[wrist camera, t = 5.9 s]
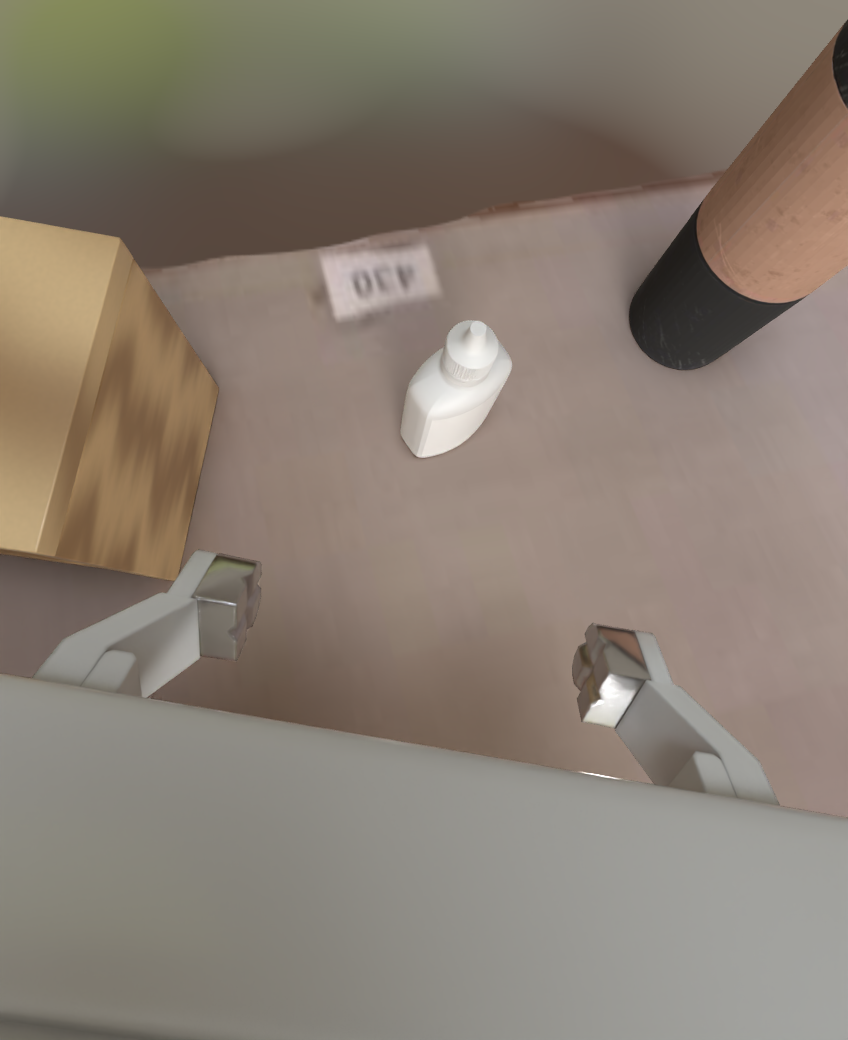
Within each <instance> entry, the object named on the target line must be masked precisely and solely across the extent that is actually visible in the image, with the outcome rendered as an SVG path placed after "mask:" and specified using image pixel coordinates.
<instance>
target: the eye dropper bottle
mask: <svg viewBox="0 0 848 1040" xmlns="http://www.w3.org/2000/svg"><path fill="white" fill-rule="evenodd" d="M511 368H512V361H511V358H510V356H509V354H508V353H507V351H506V350H505V348H504V347H503V346H502V344H501V343H500V342H499V341H498V340H497V338H496V335H495V333H494V331H492V329H490V327H488V326H487V325H486V324H484V323H483V322H480V321H473V320H469V321H464V322H461V323H459V324H456V325H455V326H454V327H452V329H451V330H450V331H449V333H448V335H447V338H446V341H445V345H444V347H443V348H441V349H440V350H438V351H437V352H435V353H434V354H433V355H432V356H431V357H429V358H428V359H427V360H426V361H425V362H424V363H423V365H422V366H421V367H420V368H419V369H418V371H417V372H416V373H415V375H414V376H413V378H412V380H411V381H410V383H409V385H408V389H407V394H406V398H405V404H404V410H403V416H402V422H401V429H400V433H401V437H402V438H403V440H404V441H405V443H406V444H407V446H408V447H409V449H410V450H411V451H412V453H413V454H414V455H416V456H417V457H421V458H424V457H431V456H435V455H439V454H442V453H445V452H447V451H449V450H451V449H453V448H455V447H457V446H459V445H460V444H462V443H463V442H464V441H466V440H467V439H468V438H469V437H470V436H471V435H472V434H473V433H474V432H475V431H476V430H477V429H478V428H479V427H480V425H481V424H482V423H483V421H484V420H485V418H486V416H487V414H488V413H489V411H490V409H491V407H492V405H493V404H494V402H495V400H496V398H497V397H498V395H499V393H500V391H501V389H502V387H503V386H504V384H505V382H506V380H507V378H508V376H509V374H510V372H511Z"/></svg>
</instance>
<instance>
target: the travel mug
mask: <svg viewBox="0 0 848 1040" xmlns="http://www.w3.org/2000/svg"><path fill="white" fill-rule="evenodd" d="M847 265H848V20H847V21H846V23H844V25H843V26H842V27H841V28H840V30H839V31H838V32H837V33H836V35H835V36H834V37H833V38H832V40H831V41H830V42H829V43H828V45H827V46H826V47H825V48H824V50H823V51H822V52H821V53H820V55H819V56H818V57H817V58H816V60H815V61H814V62H813V63H812V65H811V66H810V67H809V68H808V70H807V71H806V72H805V74H804V75H803V76H802V77H801V78H800V80H799V81H798V82H797V83H796V84H795V86H794V87H793V88H792V90H791V91H790V92H789V93H788V94H787V96H786V97H785V98H784V99H783V101H782V102H781V103H780V105H779V106H778V107H777V108H776V109H775V111H774V112H773V113H772V114H771V116H770V117H769V118H768V120H767V121H766V122H765V123H764V124H763V126H762V127H761V128H760V129H759V131H758V132H757V133H756V134H755V136H754V137H753V138H752V139H751V141H750V142H749V143H748V144H747V146H746V147H745V148H744V149H743V151H742V152H741V153H740V155H739V156H738V157H737V158H736V159H735V161H734V162H733V163H732V165H731V166H730V167H729V168H728V169H727V171H726V172H725V173H724V174H723V176H722V177H721V178H720V179H719V181H718V182H717V183H716V184H715V186H714V187H713V188H712V189H711V191H710V192H709V193H708V194H707V196H706V197H705V198H704V200H703V201H702V202H701V204H700V205H699V207H698V208H697V209H696V211H695V212H694V213H693V215H692V216H691V217H690V219H689V220H688V222H687V223H686V224H685V226H684V227H683V228H682V230H681V231H680V232H679V234H678V235H677V237H676V238H675V239H674V241H673V242H672V243H671V245H670V246H669V247H668V249H667V250H666V252H665V253H664V254H663V256H662V257H661V258H660V260H659V261H658V262H657V264H656V265H655V267H654V268H653V269H652V271H651V272H650V273H649V275H648V276H647V277H646V279H645V280H644V282H643V283H642V285H641V286H640V287H639V289H638V290H637V292H636V294H635V296H634V297H633V300H632V303H631V307H630V316H629V317H630V326H631V330H632V333H633V335H634V337H635V339H636V341H637V343H638V344H639V346H640V347H641V348H642V350H643V351H644V352H645V353H646V354H647V355H648V356H649V357H651V358H652V359H654V360H655V361H657V362H658V363H660V364H662V365H665V366H667V367H670V368H674V369H681V370H688V369H695V368H699V367H702V366H705V365H707V364H709V363H711V362H712V361H714V360H716V359H717V358H719V357H720V356H722V355H723V354H725V353H726V352H728V351H729V350H730V349H732V348H733V347H735V346H736V345H738V344H739V343H740V342H742V341H743V340H745V339H746V338H748V337H749V336H750V335H752V334H753V333H755V332H756V331H758V330H759V329H760V328H762V327H763V326H765V325H766V324H768V323H769V322H770V321H772V320H773V319H775V318H776V317H778V316H779V315H781V314H782V313H783V312H785V311H786V310H788V309H789V308H791V307H792V306H793V305H795V304H796V303H798V302H799V301H801V300H802V299H803V298H805V297H806V296H807V295H809V294H810V293H812V292H813V291H814V290H816V289H817V288H818V287H820V286H821V285H822V284H824V283H825V282H826V281H827V280H829V279H830V278H831V277H833V276H834V275H835V274H837V273H838V272H839V271H841V270H842V269H843V268H844V267H846V266H847Z"/></svg>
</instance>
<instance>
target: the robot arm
mask: <svg viewBox="0 0 848 1040" xmlns="http://www.w3.org/2000/svg"><path fill="white" fill-rule="evenodd" d="M261 575H262V564H261V563H260V562H259V561H254V560H250V559H245V558H240V557H235V556H230V555H226V554H221V553H219V554H218V553H214V552H209V551H204V550H200V549H198V550H197V551H195V552H194V553H193V554H192V556H191V557H190V559H189V560H188V562H187V563H186V565H185V566H184V568H183V569H182V571H181V572H180V574H179V575H178V577H177V578H176V580H175V581H174V583H173V584H172V586H171V587H170V589H169V590H168V592H167V593H161V592H160V593H158V594H156V595H154V596H152V597H150V598H147V599H145V600H143V601H141V602H139V603H137V604H135V605H133V606H131V607H129V608H127V609H125V610H122V611H120V612H118V613H116V614H114V615H112V616H110V617H108V618H106V619H104V620H102V621H99V622H97V623H95V624H93V625H91V626H89V627H87V628H85V629H83V630H81V631H79V632H77V633H74V634H72V635H70V636H68V637H66V638H64V639H63V640H62V641H61V642H60V644H59V645H58V646H57V647H56V648H55V650H54V651H53V652H52V653H51V655H50V656H49V657H48V658H47V660H46V661H45V662H44V663H43V665H42V666H41V667H40V668H39V669H38V671H37V672H36V673H35V674H34V676H33V677H32V678H27V677H21V676H15V675H9V674H3V673H0V1040H848V817H843V816H837V815H832V814H826V813H820V812H814V811H808V810H802V809H796V808H790V807H785V806H780V804H779V802H778V800H777V798H776V796H775V794H774V792H773V789H772V787H771V785H770V783H769V781H768V779H767V777H766V774H765V772H764V770H763V768H762V766H761V764H760V762H759V760H758V759H757V758H756V757H755V756H754V755H752V754H751V753H750V752H749V751H748V750H747V749H746V748H745V747H744V746H743V745H742V744H741V743H740V742H739V741H738V740H737V739H735V738H734V737H733V736H732V735H731V734H730V733H729V732H728V731H727V730H726V729H725V728H724V727H723V726H722V725H721V724H720V723H718V722H717V721H716V720H715V719H714V718H713V717H712V716H711V715H710V714H709V713H708V712H707V711H706V710H705V709H704V708H703V707H701V706H700V705H699V704H698V703H697V702H696V701H695V700H694V699H693V698H692V697H691V696H690V695H689V694H688V693H687V692H686V691H684V690H683V689H682V688H681V687H680V686H677V685H674V684H673V681H672V679H671V676H670V674H669V671H668V668H667V666H666V663H665V661H664V658H663V655H662V653H661V650H660V648H659V645H658V642H657V640H656V637H655V636H654V635H653V634H652V633H648V632H642V631H636V630H629V629H623V628H617V627H612V626H606V625H600V624H595V623H592V624H591V625H590V626H589V627H588V628H587V630H586V632H585V638H586V642H585V643H584V644H582V645H580V646H578V649H577V651H576V653H575V655H574V660H573V665H572V676H573V682H574V684H575V686H576V687H577V688H578V689H579V690H580V691H581V692H580V694H579V696H578V697H577V702H578V707H579V712H580V717H581V722H585V723H590V724H595V725H600V726H604V727H609V728H614V729H615V731H616V733H617V734H618V735H619V737H620V738H621V739H622V741H623V742H624V743H625V745H626V746H627V748H628V749H629V750H630V752H631V753H632V754H633V756H634V757H635V759H636V760H637V761H638V763H639V764H640V765H641V767H642V768H643V770H644V771H645V772H646V774H647V775H648V776H649V778H650V779H651V780H652V782H653V783H654V784H649V783H644V782H638V781H632V780H626V779H620V778H614V777H608V776H602V775H596V774H590V773H584V772H578V771H572V770H567V769H561V768H555V767H549V766H543V765H537V764H532V763H526V762H520V761H514V760H508V759H503V758H497V757H491V756H485V755H479V754H473V753H468V752H462V751H456V750H450V749H444V748H438V747H432V746H426V745H420V744H415V743H409V742H403V741H397V740H391V739H385V738H379V737H373V736H367V735H362V734H356V733H350V732H344V731H338V730H332V729H326V728H320V727H314V726H309V725H303V724H297V723H291V722H285V721H279V720H273V719H267V718H262V717H256V716H250V715H244V714H238V713H232V712H226V711H220V710H215V709H209V708H203V707H197V706H191V705H185V704H179V703H173V702H168V701H162V700H156V699H150V698H147V697H148V696H150V695H151V694H152V693H154V692H155V691H156V690H158V689H159V688H160V687H162V686H163V685H164V684H166V683H167V682H169V681H170V680H171V679H173V678H174V677H175V676H177V675H178V674H179V673H181V672H182V671H183V670H185V669H186V668H187V667H189V666H190V665H191V664H193V663H194V662H196V661H197V660H198V659H200V656H203V657H210V658H217V659H224V660H230V661H237V660H238V658H239V656H240V654H241V651H242V649H243V647H244V645H245V642H246V636H247V629H249V628H251V627H252V626H253V624H254V622H255V619H256V616H257V613H258V609H259V606H260V599H261V588H260V586H259V585H258V582H259V579H260V577H261Z"/></svg>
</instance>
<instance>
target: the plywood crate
mask: <svg viewBox="0 0 848 1040" xmlns="http://www.w3.org/2000/svg"><path fill="white" fill-rule="evenodd" d="M218 391H219V388H218V386H217V385H216V383H215V382H214V380H213V378H212V377H211V375H210V374H209V372H208V371H207V369H206V368H205V366H204V365H203V363H202V362H201V360H200V359H199V357H198V356H197V354H196V353H195V351H194V350H193V348H192V347H191V345H190V343H189V342H188V340H187V339H186V337H185V336H184V334H183V333H182V331H181V330H180V328H179V327H178V325H177V324H176V322H175V321H174V319H173V318H172V316H171V315H170V313H169V312H168V310H167V308H166V307H165V305H164V304H163V302H162V301H161V299H160V298H159V296H158V295H157V293H156V292H155V290H154V289H153V287H152V286H151V284H150V283H149V281H148V280H147V278H146V277H145V275H144V273H143V272H142V270H141V269H140V267H139V266H138V265H137V263H136V261H135V260H134V259H133V256H132V255H131V253H130V252H129V250H128V249H127V247H126V246H125V244H124V243H123V241H122V240H121V238H119V237H113V236H107V235H102V234H96V233H91V232H85V231H79V230H74V229H68V228H63V227H57V226H52V225H45V224H40V223H35V222H29V221H23V220H18V219H12V218H6V217H1V216H0V554H4V555H11V556H18V557H25V558H32V559H39V560H46V561H54V562H61V563H68V564H75V565H82V566H89V567H96V568H103V569H111V570H116V571H121V572H126V573H131V574H136V575H141V576H146V577H151V578H156V579H163V580H170V581H175V580H176V578H177V577H178V574H179V569H180V565H181V560H182V556H183V551H184V546H185V542H186V537H187V533H188V528H189V524H190V519H191V514H192V510H193V505H194V501H195V496H196V492H197V487H198V482H199V478H200V473H201V469H202V464H203V460H204V455H205V450H206V446H207V441H208V437H209V432H210V428H211V423H212V418H213V414H214V409H215V405H216V400H217V396H218Z"/></svg>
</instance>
